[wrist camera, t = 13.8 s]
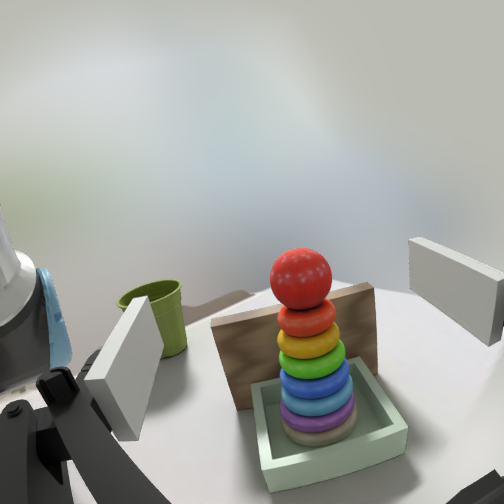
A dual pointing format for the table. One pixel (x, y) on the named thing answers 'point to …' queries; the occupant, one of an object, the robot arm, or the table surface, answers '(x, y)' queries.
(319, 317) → the stacking toy
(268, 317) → the backstop wall
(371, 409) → the mint green square tray
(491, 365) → the table surface
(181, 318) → the plant pot
